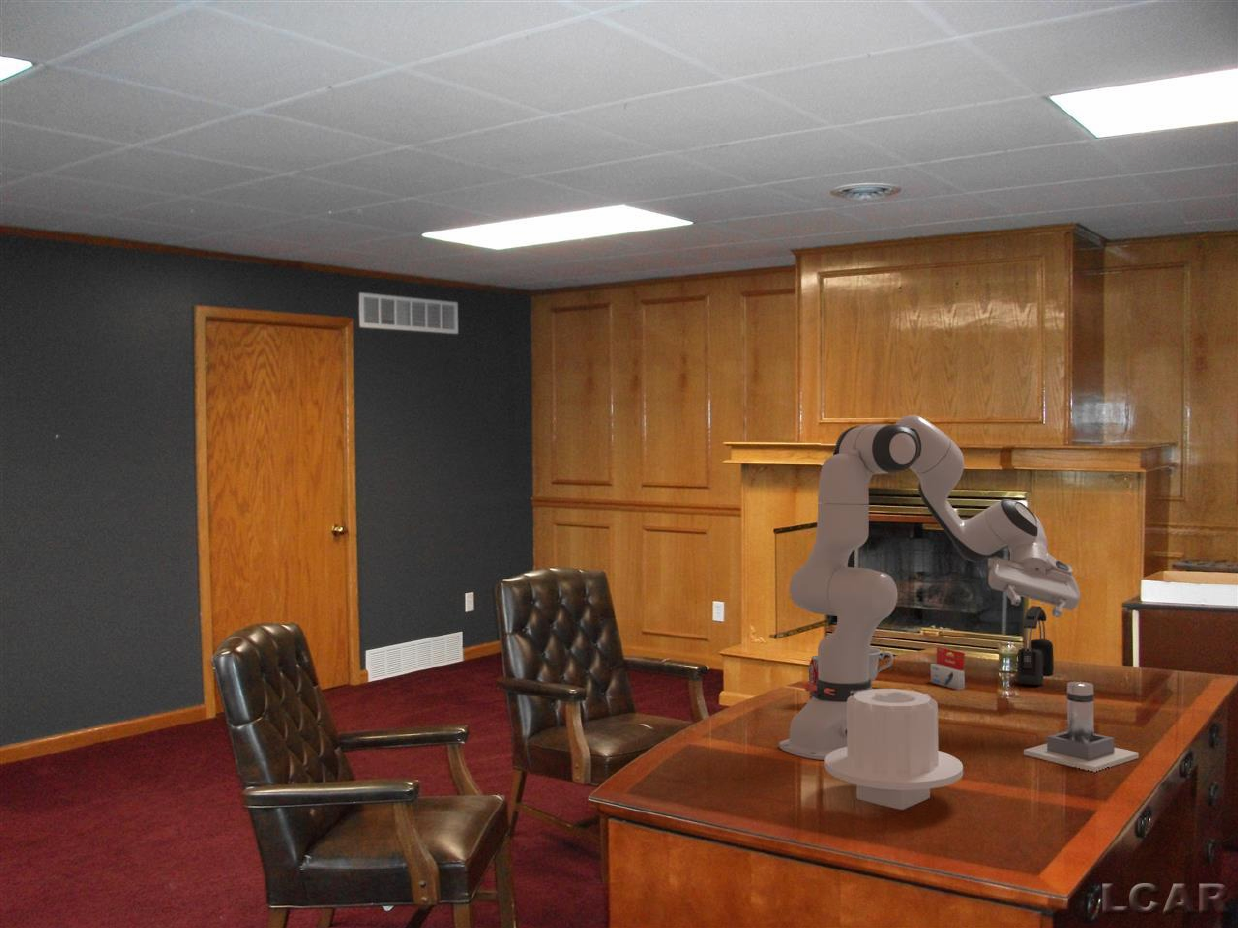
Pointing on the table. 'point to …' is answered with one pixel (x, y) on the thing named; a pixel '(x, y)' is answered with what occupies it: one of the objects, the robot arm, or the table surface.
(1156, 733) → the table surface
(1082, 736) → the capped metal cylinder
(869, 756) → the flanged gear
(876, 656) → the teacup
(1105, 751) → the socket mount
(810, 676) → the soda can
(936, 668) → the ink cartridge box
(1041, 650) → the headphones
